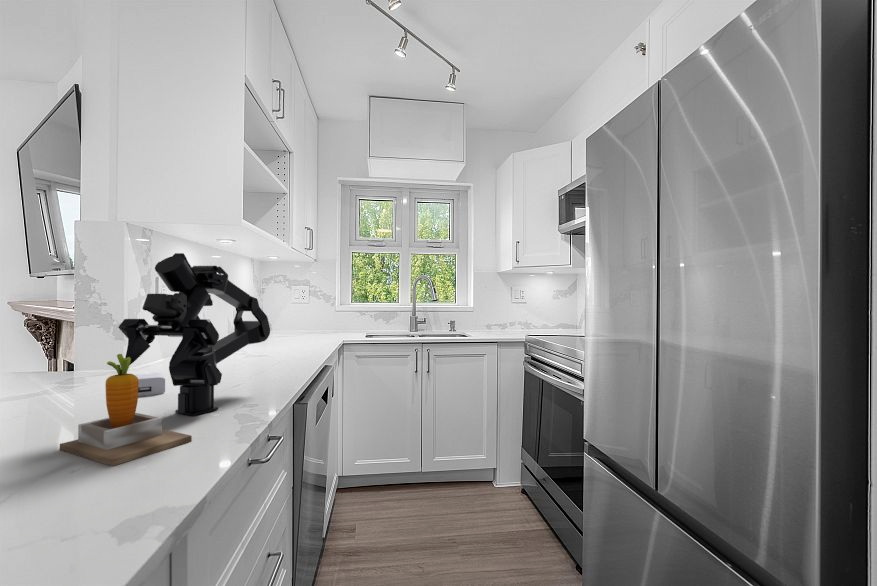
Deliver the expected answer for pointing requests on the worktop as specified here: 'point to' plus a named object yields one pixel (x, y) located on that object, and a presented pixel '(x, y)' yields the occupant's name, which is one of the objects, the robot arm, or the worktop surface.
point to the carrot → (121, 394)
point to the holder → (123, 440)
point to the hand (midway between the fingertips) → (148, 364)
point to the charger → (151, 384)
